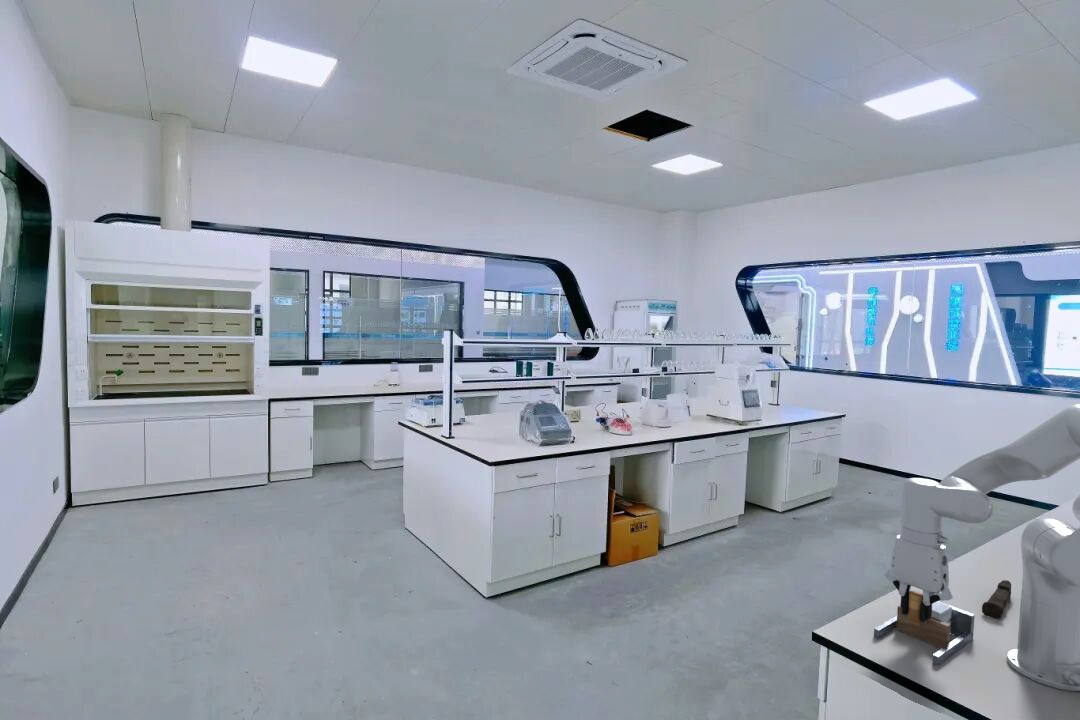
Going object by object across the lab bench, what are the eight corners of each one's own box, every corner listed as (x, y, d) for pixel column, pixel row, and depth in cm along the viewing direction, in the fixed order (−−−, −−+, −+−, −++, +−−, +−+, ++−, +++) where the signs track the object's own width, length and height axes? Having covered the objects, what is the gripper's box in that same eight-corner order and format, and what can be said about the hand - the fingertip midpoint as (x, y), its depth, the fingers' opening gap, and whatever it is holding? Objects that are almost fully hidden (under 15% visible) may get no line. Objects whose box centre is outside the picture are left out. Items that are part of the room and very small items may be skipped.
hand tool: (1001, 622, 133) (1003, 604, 133) (981, 615, 136) (982, 597, 136) (1020, 599, 145) (1022, 582, 144) (1001, 593, 148) (1002, 576, 148)
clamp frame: (937, 666, 115) (939, 638, 114) (873, 636, 125) (875, 611, 125) (972, 640, 125) (974, 614, 124) (910, 615, 135) (912, 591, 135)
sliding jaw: (936, 657, 117) (940, 605, 117) (886, 635, 126) (889, 586, 125) (949, 648, 121) (952, 597, 120) (899, 627, 129) (902, 579, 128)
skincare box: (938, 645, 122) (940, 613, 122) (908, 632, 128) (910, 601, 127) (950, 637, 126) (952, 606, 125) (920, 625, 131) (922, 595, 130)
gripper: (971, 544, 116) (966, 628, 117) (888, 521, 130) (884, 596, 131) (956, 552, 112) (951, 639, 113) (872, 527, 126) (868, 605, 127)
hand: (915, 615), depth 122 cm, fingers closed on sliding jaw, 2 cm apart
